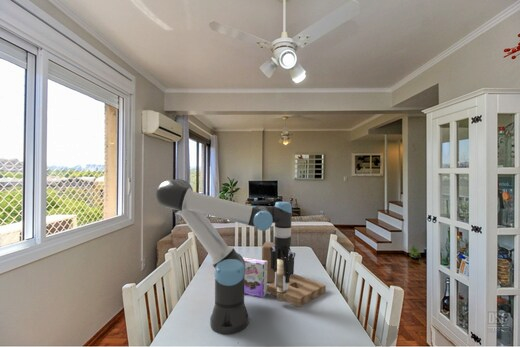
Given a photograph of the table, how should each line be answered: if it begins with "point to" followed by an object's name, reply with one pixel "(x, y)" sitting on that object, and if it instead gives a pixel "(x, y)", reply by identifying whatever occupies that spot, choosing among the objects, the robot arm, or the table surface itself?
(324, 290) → the board
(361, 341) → the table surface
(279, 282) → the peg
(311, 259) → the table surface
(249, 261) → the candy box
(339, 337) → the table surface
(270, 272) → the wooden block
